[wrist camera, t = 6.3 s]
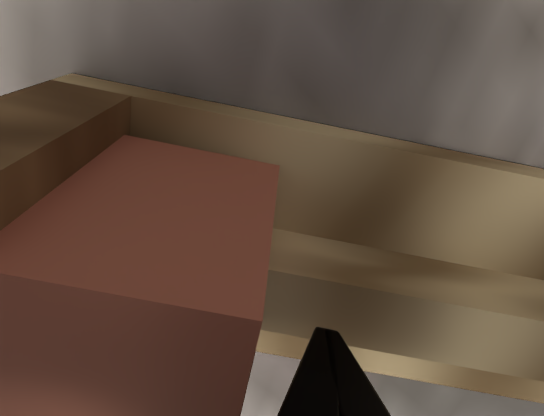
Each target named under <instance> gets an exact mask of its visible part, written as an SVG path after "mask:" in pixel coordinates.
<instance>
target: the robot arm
mask: <svg viewBox="0 0 544 416" xmlns="http://www.w3.org/2000/svg"><path fill="white" fill-rule="evenodd" d="M277 416H391V415H390V414H389V412H388V410H387V409H386V407H385V405H384V404H383V402H382V401H381V399H380V397H379V396H378V394H377V392H376V391H375V389H374V388H373V386H372V384H371V383H370V381H369V380H368V378H367V376H366V375H365V373H364V371H363V370H362V368H361V367H360V365H359V363H358V362H357V360H356V359H355V357H354V355H353V354H352V352H351V350H350V349H349V347H348V346H347V344H346V342H345V341H344V339H343V338H342V336H341V334H340V333H339V332H338V331H336V330H332V329H327V328H322V327H315V329H314V331H313V333H312V336H311V338H310V340H309V343H308V345H307V347H306V350H305V352H304V354H303V357H302V359H301V361H300V364H299V366H298V369H297V371H296V373H295V376H294V378H293V380H292V383H291V385H290V387H289V390H288V392H287V394H286V397H285V399H284V401H283V404H282V406H281V408H280V411H279V413H278V415H277Z"/></svg>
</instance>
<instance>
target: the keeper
mask: <svg viewBox="0 0 544 416" xmlns="http://www.w3.org/2000/svg"><path fill="white" fill-rule="evenodd" d="M279 168H280V165H275V164H269V163H264V162H259V161H254V160H249V159H244V158H239V157H234V156H229V155H224V154H219V153H214V152H209V151H204V150H199V149H194V148H189V147H184V146H179V145H174V144H168V143H163V142H158V141H153V140H148V139H143V138H138V137H133V136H128V135H123V136H122V137H121V138H120V139H118V140H117V141H116V142H114V143H113V144H112V145H111V146H109V147H108V148H107V149H105V150H104V151H103V152H101V153H100V154H99V155H98V156H96V157H95V158H94V159H92V160H91V161H90V162H89V163H87V164H86V165H85V166H83V167H82V168H81V169H79V170H78V171H77V172H76V173H74V174H73V175H72V176H70V177H69V178H68V179H67V180H65V181H64V182H63V183H61V184H60V185H59V186H58V187H56V188H55V189H54V190H52V191H51V192H50V193H48V194H47V195H46V196H45V197H43V198H42V199H41V200H39V201H38V202H37V203H36V204H34V205H33V206H32V207H30V208H29V209H28V210H27V211H25V212H24V213H23V214H21V215H20V216H19V217H17V218H16V219H15V220H14V221H12V222H11V223H10V224H8V225H7V226H6V227H5V228H3V229H2V230H1V231H0V416H240V415H241V411H242V406H243V402H244V398H245V394H246V389H247V385H248V381H249V377H250V372H251V368H252V364H253V360H254V356H255V351H256V347H257V343H258V339H259V334H260V330H261V326H262V322H263V313H264V304H265V295H266V286H267V277H268V268H269V258H270V249H271V240H272V231H273V222H274V213H275V204H276V195H277V186H278V177H279Z"/></svg>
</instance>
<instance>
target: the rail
mask: <svg viewBox="0 0 544 416" xmlns="http://www.w3.org/2000/svg"><path fill="white" fill-rule="evenodd" d="M123 135H128V136H133V137H138V138H143V139H148V140H153V141H158V142H163V143H168V144H174V145H179V146H184V147H189V148H194V149H199V150H204V151H209V152H214V153H219V154H224V155H229V156H234V157H239V158H244V159H249V160H254V161H259V162H264V163H269V164H275V165H280V168H279V177H278V186H277V195H276V204H275V213H274V222H273V231H272V240H271V249H270V258H269V268H268V277H267V286H266V295H265V304H264V313H263V322H262V326H261V330H260V334H259V339H258V343H257V347H256V351H257V352H262V353H268V354H273V355H279V356H284V357H290V358H295V359H302V357H303V354H304V352H305V350H306V347H307V345H308V343H309V340H310V338H311V336H312V333H313V331H314V329H315V327H322V328H327V329H332V330H336V331H338V332H339V333H340V334H341V336H342V338H343V339H344V341H345V342H346V344H347V346H348V347H349V349H350V350H351V352H352V354H353V355H354V357H355V359H356V360H357V362H358V363H359V365H360V367H361V368H362V370H363V371H367V372H373V373H378V374H384V375H389V376H395V377H400V378H406V379H412V380H417V381H423V382H428V383H434V384H439V385H445V386H450V387H456V388H461V389H467V390H472V391H478V392H483V393H489V394H494V395H500V396H506V397H511V398H517V399H522V400H528V401H533V402H539V403H544V169H541V168H537V167H532V166H527V165H522V164H517V163H512V162H507V161H502V160H497V159H492V158H487V157H482V156H477V155H472V154H467V153H462V152H458V151H453V150H448V149H443V148H438V147H433V146H428V145H423V144H418V143H413V142H408V141H403V140H398V139H393V138H388V137H383V136H379V135H374V134H369V133H364V132H359V131H354V130H349V129H344V128H339V127H334V126H329V125H324V124H319V123H314V122H309V121H305V120H300V119H295V118H290V117H285V116H280V115H275V114H270V113H265V112H260V111H255V110H250V109H245V108H240V107H235V106H230V105H226V104H221V103H216V102H211V101H206V100H201V99H196V98H191V97H186V96H181V95H176V94H171V93H166V92H161V91H156V90H151V89H147V88H142V87H137V86H132V85H127V84H122V83H117V82H112V81H107V80H102V79H97V78H92V77H87V76H82V75H77V74H73V73H71V74H68V75H65V76H61V77H58V78H55V79H52V80H49V81H46V82H43V83H40V84H37V85H33V86H30V87H27V88H24V89H21V90H18V91H15V92H12V93H9V94H5V95H2V96H0V231H1V230H2V229H3V228H5V227H6V226H7V225H8V224H10V223H11V222H12V221H14V220H15V219H16V218H17V217H19V216H20V215H21V214H23V213H24V212H25V211H27V210H28V209H29V208H30V207H32V206H33V205H34V204H36V203H37V202H38V201H39V200H41V199H42V198H43V197H45V196H46V195H47V194H48V193H50V192H51V191H52V190H54V189H55V188H56V187H58V186H59V185H60V184H61V183H63V182H64V181H65V180H67V179H68V178H69V177H70V176H72V175H73V174H74V173H76V172H77V171H78V170H79V169H81V168H82V167H83V166H85V165H86V164H87V163H89V162H90V161H91V160H92V159H94V158H95V157H96V156H98V155H99V154H100V153H101V152H103V151H104V150H105V149H107V148H108V147H109V146H111V145H112V144H113V143H114V142H116V141H117V140H118V139H120V138H121V137H122V136H123Z"/></svg>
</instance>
